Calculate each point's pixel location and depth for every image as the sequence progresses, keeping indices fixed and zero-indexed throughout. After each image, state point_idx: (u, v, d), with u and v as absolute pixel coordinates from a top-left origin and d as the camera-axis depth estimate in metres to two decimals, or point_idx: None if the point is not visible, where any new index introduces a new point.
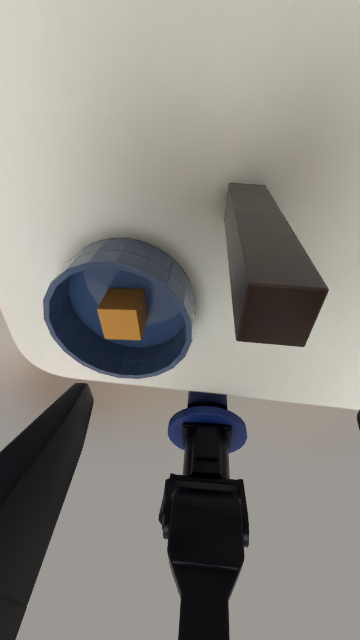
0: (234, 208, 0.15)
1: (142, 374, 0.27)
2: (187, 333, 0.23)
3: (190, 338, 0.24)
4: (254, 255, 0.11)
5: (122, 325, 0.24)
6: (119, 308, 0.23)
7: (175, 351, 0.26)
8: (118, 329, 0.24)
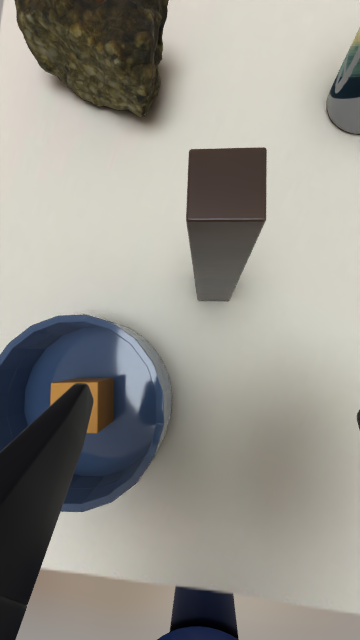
0: None
1: (89, 501, 0.18)
2: (158, 410, 0.18)
3: (162, 419, 0.18)
4: None
5: None
6: (79, 381, 0.19)
7: (143, 458, 0.19)
8: None
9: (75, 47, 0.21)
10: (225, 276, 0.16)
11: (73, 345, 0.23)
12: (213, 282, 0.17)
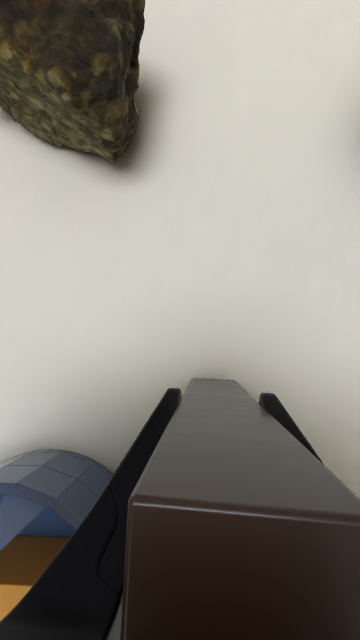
0: (185, 392, 0.11)
1: None
2: None
3: None
4: (183, 438, 0.05)
5: None
6: (9, 580, 0.13)
7: None
8: None
9: (9, 73, 0.14)
10: None
11: None
12: None
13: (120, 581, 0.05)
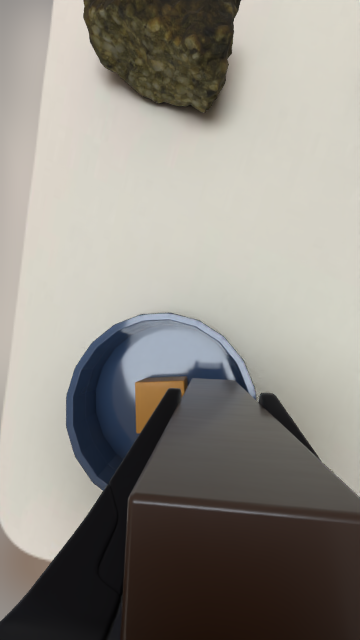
0: (185, 392, 0.11)
1: None
2: None
3: None
4: (183, 437, 0.05)
5: None
6: (163, 380, 0.19)
7: None
8: None
9: (149, 42, 0.20)
10: None
11: (143, 344, 0.23)
12: None
13: (120, 581, 0.05)
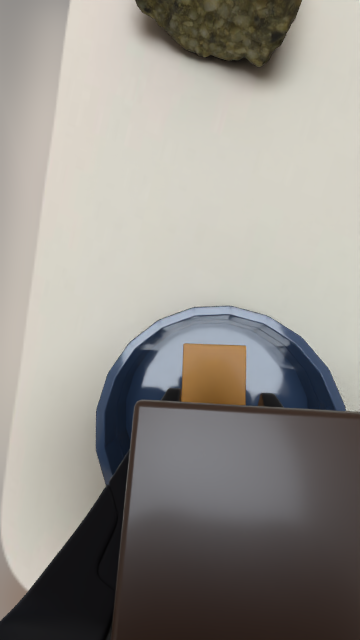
0: None
1: None
2: None
3: None
4: None
5: (219, 375, 0.15)
6: None
7: None
8: (210, 384, 0.15)
9: None
10: None
11: None
12: None
13: None
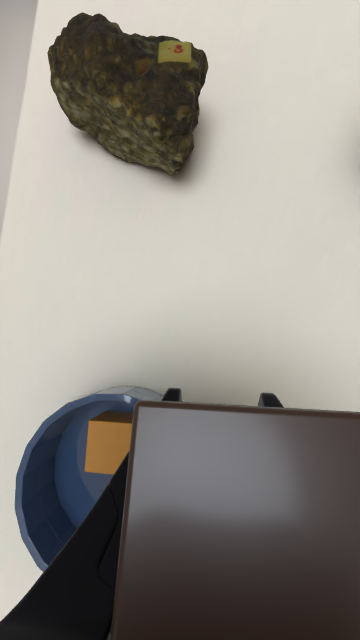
0: None
1: None
2: None
3: None
4: None
5: (114, 447, 0.19)
6: (116, 421, 0.19)
7: None
8: (107, 454, 0.19)
9: (112, 115, 0.20)
10: None
11: (104, 411, 0.23)
12: None
13: None
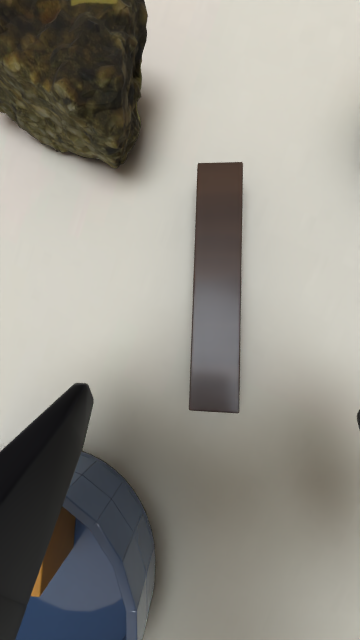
0: None
1: None
2: None
3: None
4: None
5: None
6: None
7: None
8: None
9: (16, 84, 0.15)
10: (225, 273, 0.15)
11: None
12: (213, 297, 0.15)
13: None
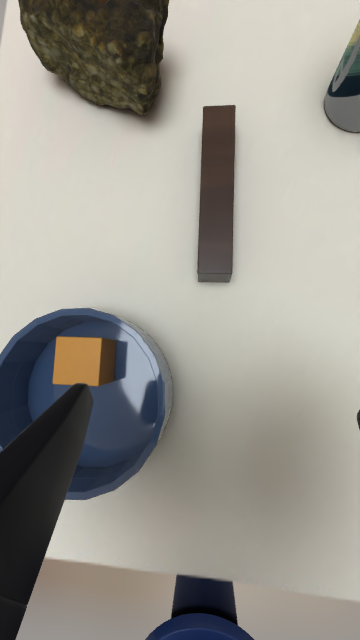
0: None
1: (92, 489, 0.18)
2: (159, 401, 0.18)
3: (163, 409, 0.18)
4: None
5: (80, 360, 0.20)
6: (83, 337, 0.20)
7: None
8: (73, 367, 0.20)
9: (78, 47, 0.21)
10: (223, 181, 0.22)
11: None
12: (214, 197, 0.22)
13: None
